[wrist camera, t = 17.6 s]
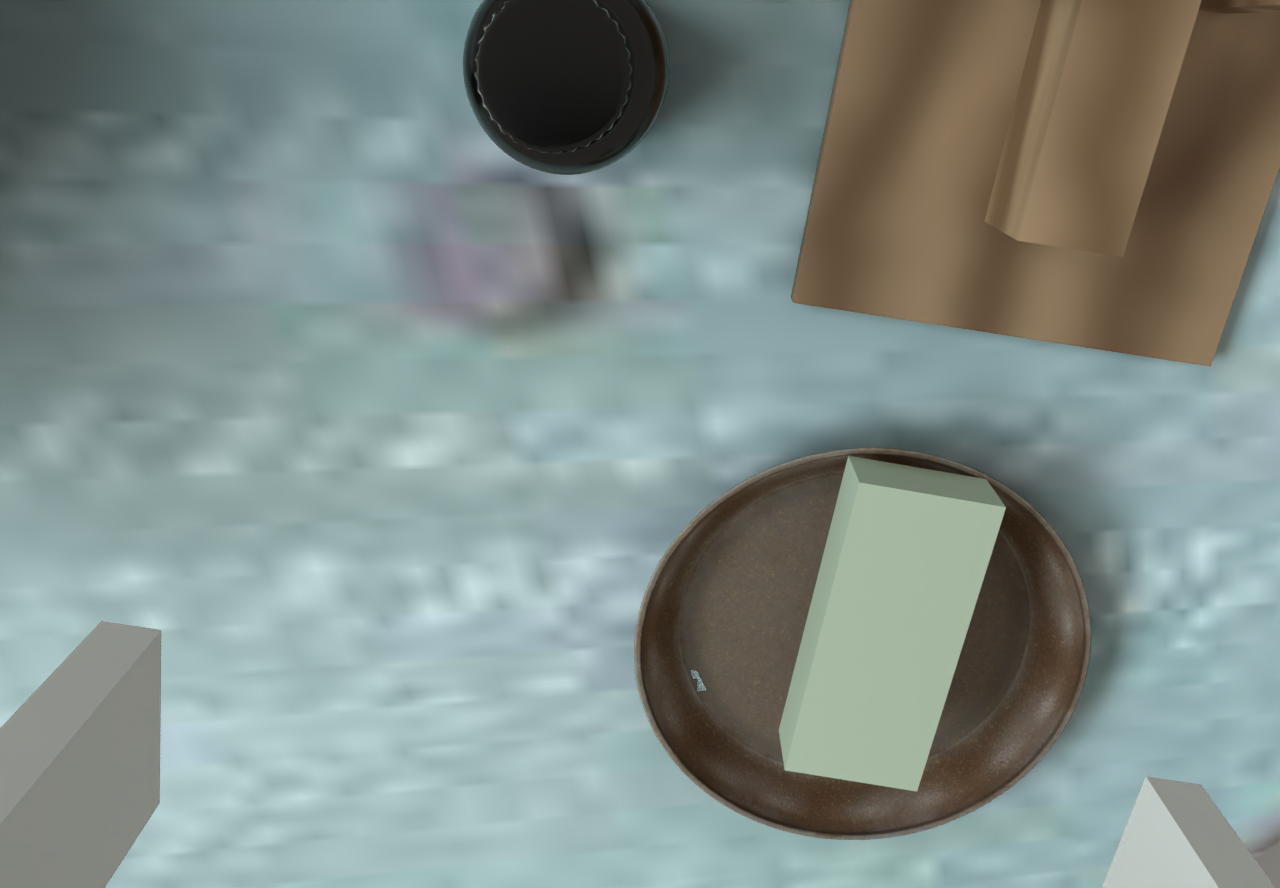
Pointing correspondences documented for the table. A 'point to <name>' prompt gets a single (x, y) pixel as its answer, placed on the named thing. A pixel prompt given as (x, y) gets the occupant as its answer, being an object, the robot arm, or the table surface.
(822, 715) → the bar
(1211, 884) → the robot arm
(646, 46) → the supplement bottle
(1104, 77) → the cradle
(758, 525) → the plant saucer
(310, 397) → the table surface
